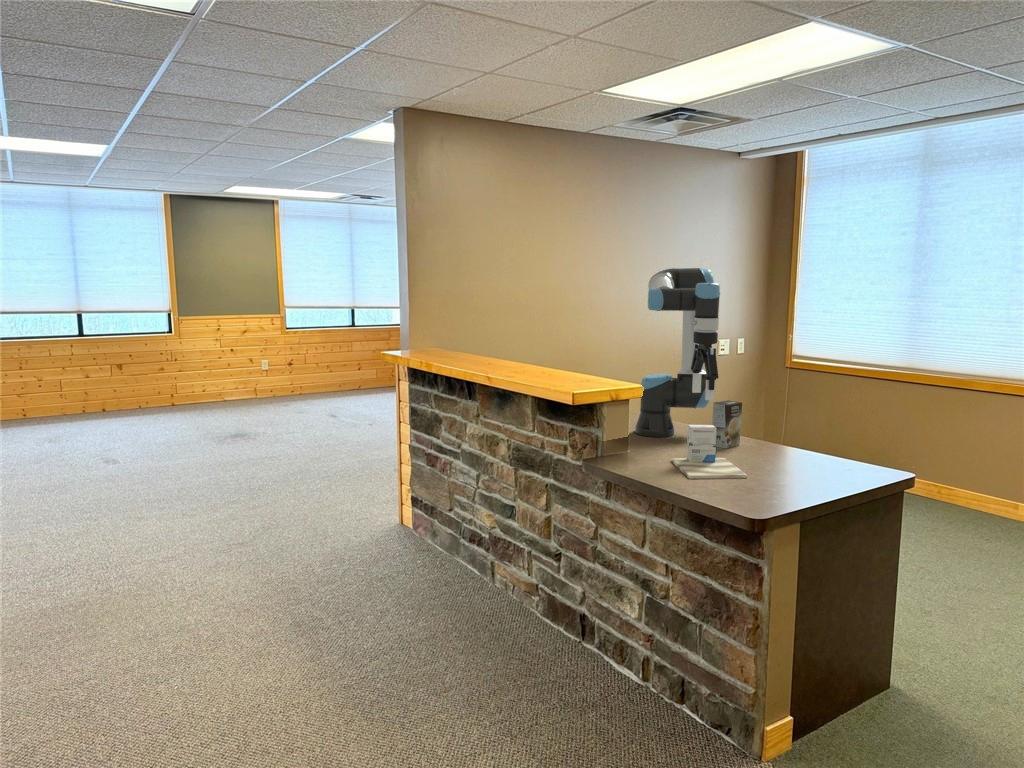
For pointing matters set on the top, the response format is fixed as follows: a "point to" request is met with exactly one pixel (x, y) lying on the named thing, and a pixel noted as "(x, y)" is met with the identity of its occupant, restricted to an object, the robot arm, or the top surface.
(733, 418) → the coffee box
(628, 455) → the top surface
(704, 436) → the ink box
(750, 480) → the top surface
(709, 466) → the cloth
